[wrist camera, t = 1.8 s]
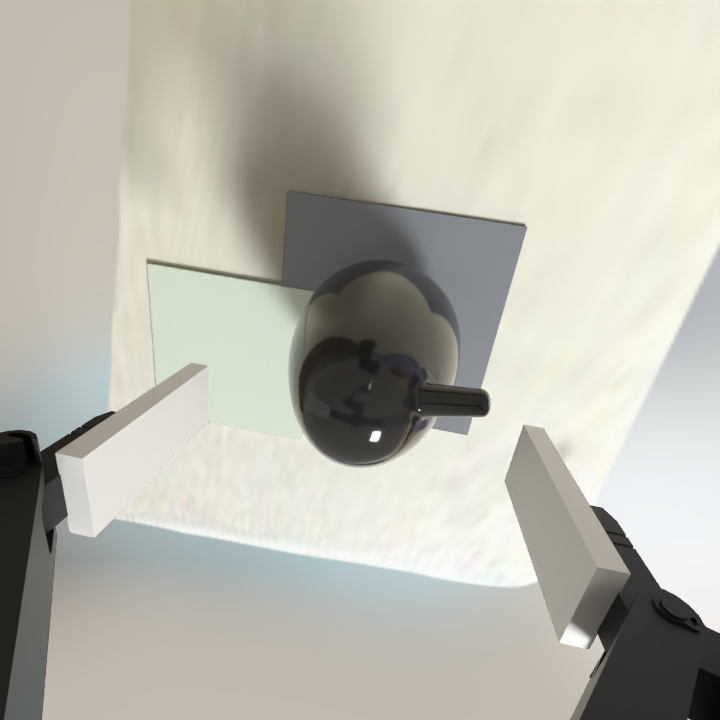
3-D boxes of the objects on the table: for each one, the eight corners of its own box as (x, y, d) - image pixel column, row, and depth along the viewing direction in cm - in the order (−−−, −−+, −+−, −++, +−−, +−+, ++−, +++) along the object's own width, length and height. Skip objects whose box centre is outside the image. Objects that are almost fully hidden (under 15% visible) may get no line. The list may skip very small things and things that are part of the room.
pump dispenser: (465, 376, 29) (510, 532, 15) (334, 394, 31) (266, 546, 17) (446, 238, 26) (481, 273, 12) (300, 268, 28) (183, 331, 14)
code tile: (288, 191, 26) (287, 191, 26) (526, 226, 25) (527, 226, 25) (276, 397, 32) (275, 398, 32) (466, 433, 31) (467, 435, 31)
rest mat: (150, 263, 30) (147, 263, 29) (315, 290, 29) (314, 292, 28) (160, 409, 34) (158, 412, 34) (301, 437, 34) (300, 440, 33)
